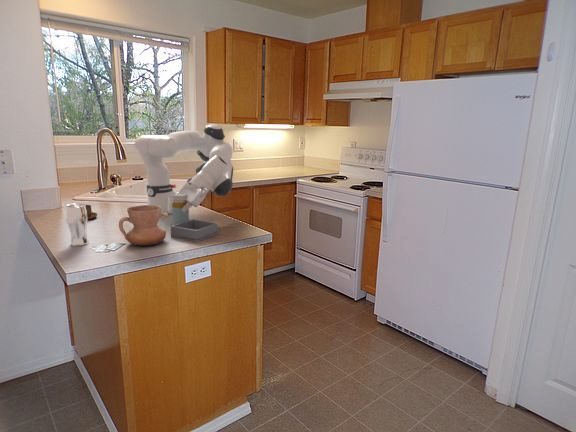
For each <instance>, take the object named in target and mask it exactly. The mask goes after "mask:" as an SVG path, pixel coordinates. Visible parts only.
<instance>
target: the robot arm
mask: <svg viewBox="0 0 576 432" xmlns="http://www.w3.org/2000/svg"><path fill="white" fill-rule="evenodd" d="M225 136H226V135H225V134H224V130H223V128H222V126H220V125H218V124H215V123H209V124H207V125H206V124H205V127H204V129H203V134H201V133H200V132H199V131H198V130H191V129H189V130H181V131H174V132H170V133H169V134H163V135H161V134H160V135H159V134H158V135H157V134H155V135H154V134H145V135H141V136H138V137H137V138H136V139H135V142H134V150H135V151H136V153H138V154H139V155H140V157H141V160H142V162H143V165H144V168H145V173H146V183H147V184H146V193H147V198H146V199H147V200H146V201H147V202H146V205H158V206H160V207H161V214H162V213H167V214H173V213H172V204H173V196H172V195H173V194H176V193H177V192H175V191H174V189H176V188H177V185H176V184H174V183H172V184H171V180H170V169H169V167H168V166H167V165H166V164H165V162H164V161H163V159H168V158H173V157H175V156H177V154H181V153H185V152H191V151H195V150H196V151H197V152H196V153H197V155H198V156H199V158H200V159H201V160H202V163H201V164H200V165H199V166H198V167H197V168H195V175H194V176H192V177H190V178H187V180H186V183H185V184H184V185H183V186H182V187H181V188H180V190H179V191H178V193H185V194H187V197H186V201H187V203H186V205H185V206H184V207H182V208H181V211H182V212H185V211H186V210H187V209H189V210H190V208H192V207H194V208H197V207H198V206H200V204H201V203H202V202H203V200H204V199H205V198H206V195H207V194H208V193H209V191H210V190H211V191H212V192H213V193H214V194H215V195H216V196H217V197H225V196H227V195H228V194H229V193H230V192H231V191H232V188H233V185H234V184H233V176H234V166H233V164H232V161H231V159H232V158H233V157H232V156H233V148H232V145H230V143H228V142H226V141H224V139H225V138H226V137H225Z"/></svg>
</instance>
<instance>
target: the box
mask: <svg viewBox="0 0 576 432" xmlns="http://www.w3.org/2000/svg"><path fill="white" fill-rule="evenodd" d="M217 234H219V223H217V222H213V221H205V220H199V219H195V218H192V219H189V221H185V222H182V223H179V224H176V225H173V224H172V225H170V237H171V238H176V239H180V240H186V241H191V242H196V243H197V242H200V241H203V240H205V239H208V238H211V237H213V236H215V235H217Z"/></svg>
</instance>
